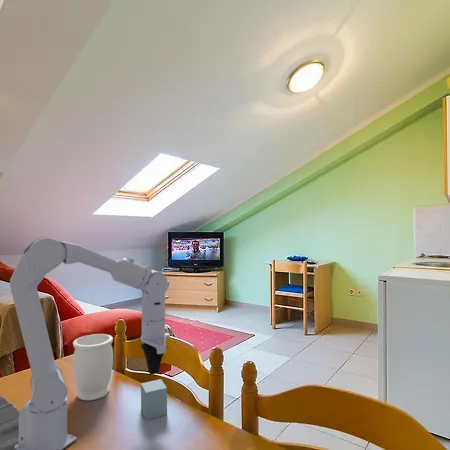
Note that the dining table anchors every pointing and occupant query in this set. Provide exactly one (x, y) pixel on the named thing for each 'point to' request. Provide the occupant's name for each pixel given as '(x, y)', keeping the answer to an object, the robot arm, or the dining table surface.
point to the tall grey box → (153, 399)
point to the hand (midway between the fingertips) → (153, 372)
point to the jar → (93, 365)
